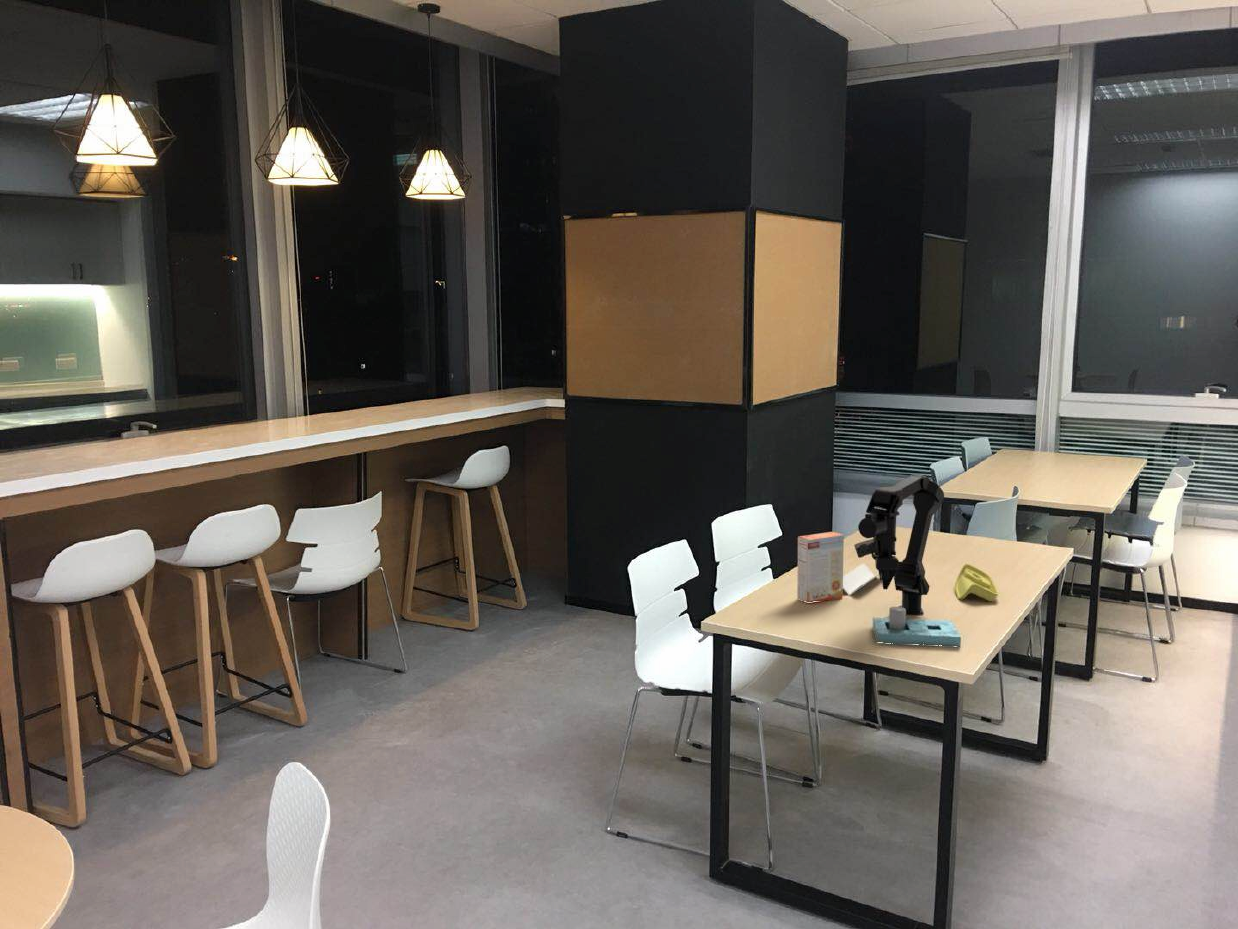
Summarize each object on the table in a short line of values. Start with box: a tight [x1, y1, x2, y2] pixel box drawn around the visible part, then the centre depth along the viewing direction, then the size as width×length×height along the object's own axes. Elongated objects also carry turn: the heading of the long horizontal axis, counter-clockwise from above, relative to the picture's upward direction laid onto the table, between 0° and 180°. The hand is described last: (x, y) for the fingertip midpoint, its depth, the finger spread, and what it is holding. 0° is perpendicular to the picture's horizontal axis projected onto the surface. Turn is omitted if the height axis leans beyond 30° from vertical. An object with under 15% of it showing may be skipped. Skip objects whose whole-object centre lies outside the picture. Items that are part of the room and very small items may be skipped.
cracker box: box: [796, 531, 845, 602], centre depth 307 cm, size 14×6×21 cm, turn 115°
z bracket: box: [843, 563, 879, 596], centre depth 324 cm, size 12×25×6 cm
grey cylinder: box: [888, 606, 907, 630], centre depth 273 cm, size 4×4×8 cm
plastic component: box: [954, 563, 999, 602], centre depth 314 cm, size 20×7×10 cm
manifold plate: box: [872, 616, 962, 648], centre depth 273 cm, size 14×22×3 cm, turn 81°
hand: (883, 584), depth 282 cm, fingers open, 9 cm apart
